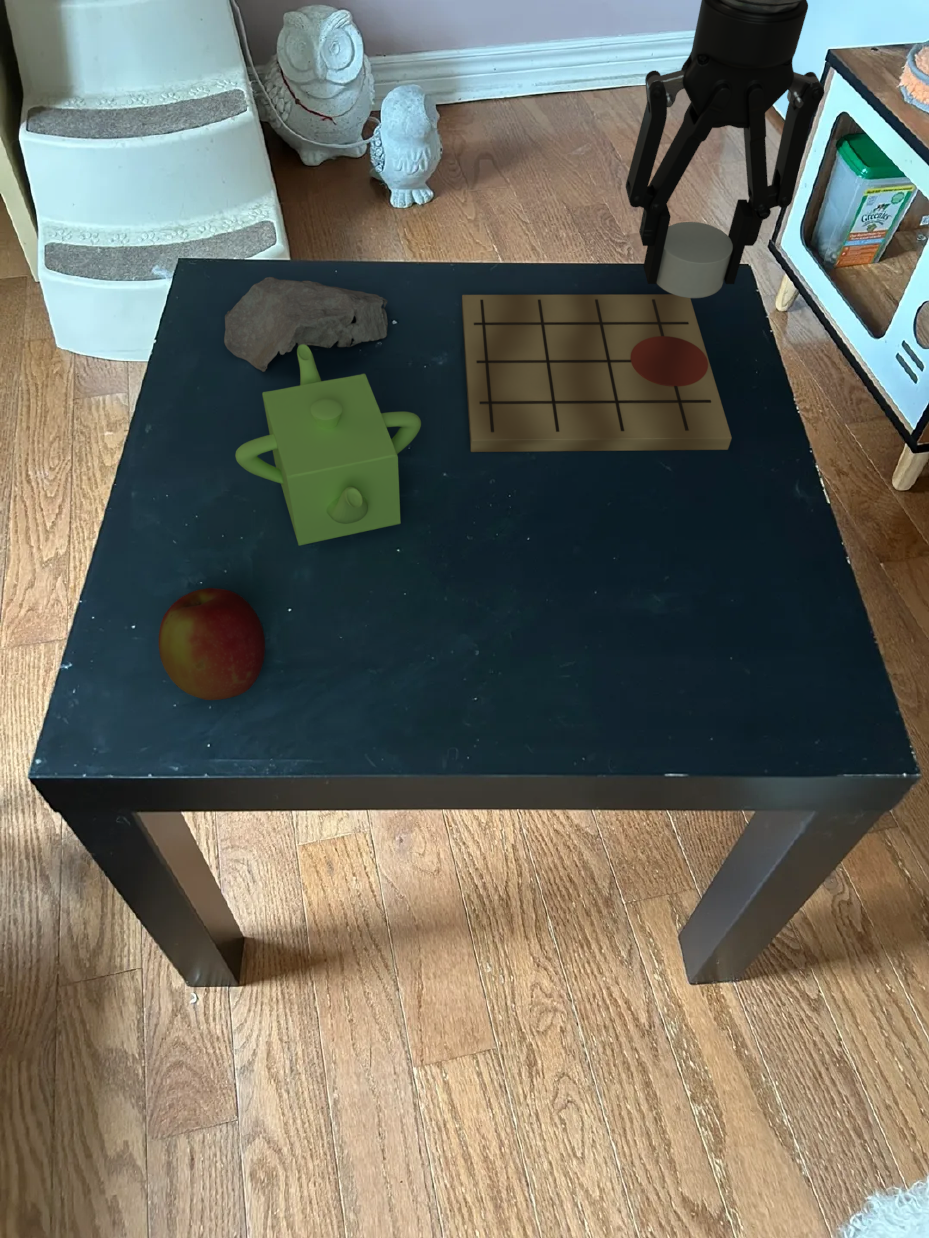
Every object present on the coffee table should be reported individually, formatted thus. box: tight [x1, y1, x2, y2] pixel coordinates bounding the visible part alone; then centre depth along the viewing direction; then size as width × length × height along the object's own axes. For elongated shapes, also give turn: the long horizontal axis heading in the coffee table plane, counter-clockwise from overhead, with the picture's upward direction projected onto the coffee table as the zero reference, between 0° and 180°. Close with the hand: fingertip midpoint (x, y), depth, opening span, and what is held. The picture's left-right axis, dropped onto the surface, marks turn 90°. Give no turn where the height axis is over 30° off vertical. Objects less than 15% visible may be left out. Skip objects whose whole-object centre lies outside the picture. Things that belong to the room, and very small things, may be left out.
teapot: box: [235, 344, 422, 546], centre depth 80 cm, size 15×13×11 cm
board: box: [461, 293, 732, 453], centre depth 95 cm, size 24×22×2 cm
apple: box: [158, 587, 266, 701], centre depth 70 cm, size 8×8×8 cm
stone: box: [223, 276, 389, 373], centre depth 96 cm, size 15×8×15 cm
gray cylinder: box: [656, 221, 733, 299], centre depth 86 cm, size 6×6×4 cm
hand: (688, 274), depth 87 cm, fingers closed on gray cylinder, 6 cm apart
